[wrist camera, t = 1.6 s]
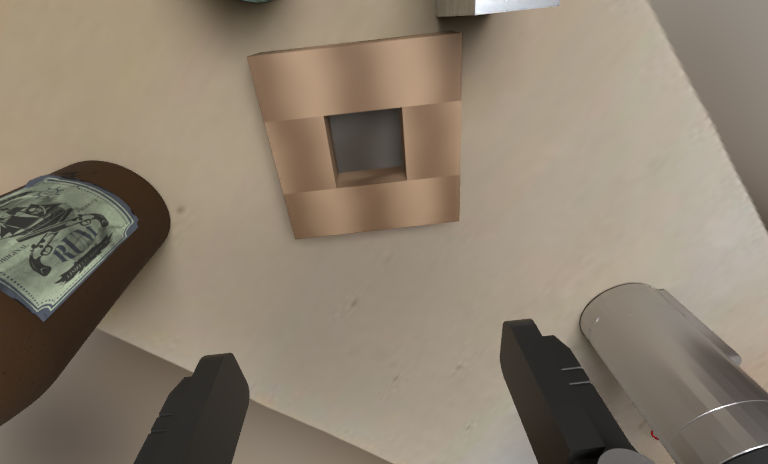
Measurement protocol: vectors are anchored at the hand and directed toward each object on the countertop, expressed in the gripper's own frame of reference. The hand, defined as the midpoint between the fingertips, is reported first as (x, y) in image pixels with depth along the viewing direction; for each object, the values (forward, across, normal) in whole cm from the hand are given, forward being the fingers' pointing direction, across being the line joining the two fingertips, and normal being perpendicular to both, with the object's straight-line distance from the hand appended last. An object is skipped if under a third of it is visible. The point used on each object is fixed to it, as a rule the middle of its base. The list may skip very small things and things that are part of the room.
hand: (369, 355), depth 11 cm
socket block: (+22, 0, 0) cm, 22 cm away
